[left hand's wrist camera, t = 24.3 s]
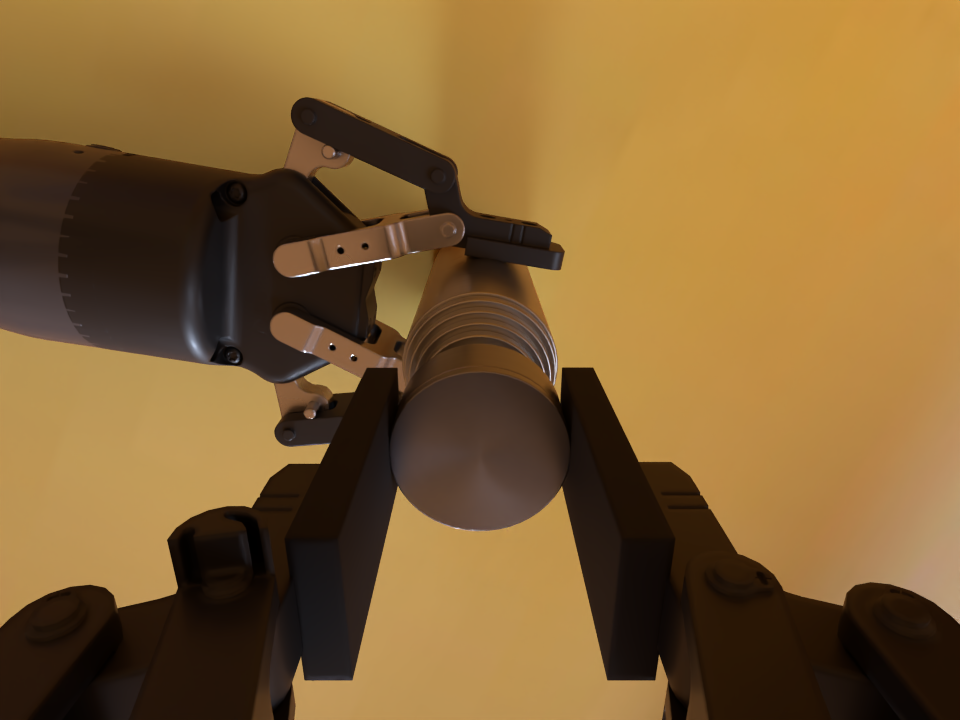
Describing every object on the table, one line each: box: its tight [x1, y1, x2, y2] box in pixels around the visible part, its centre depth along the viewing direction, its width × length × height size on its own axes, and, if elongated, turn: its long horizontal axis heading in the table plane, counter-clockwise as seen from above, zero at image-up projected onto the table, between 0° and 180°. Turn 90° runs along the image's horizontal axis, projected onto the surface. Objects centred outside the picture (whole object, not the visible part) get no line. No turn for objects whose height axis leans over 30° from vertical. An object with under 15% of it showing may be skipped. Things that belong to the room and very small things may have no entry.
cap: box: [389, 344, 571, 531], centre depth 14 cm, size 4×4×2 cm
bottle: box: [402, 246, 558, 386], centre depth 22 cm, size 5×5×17 cm
